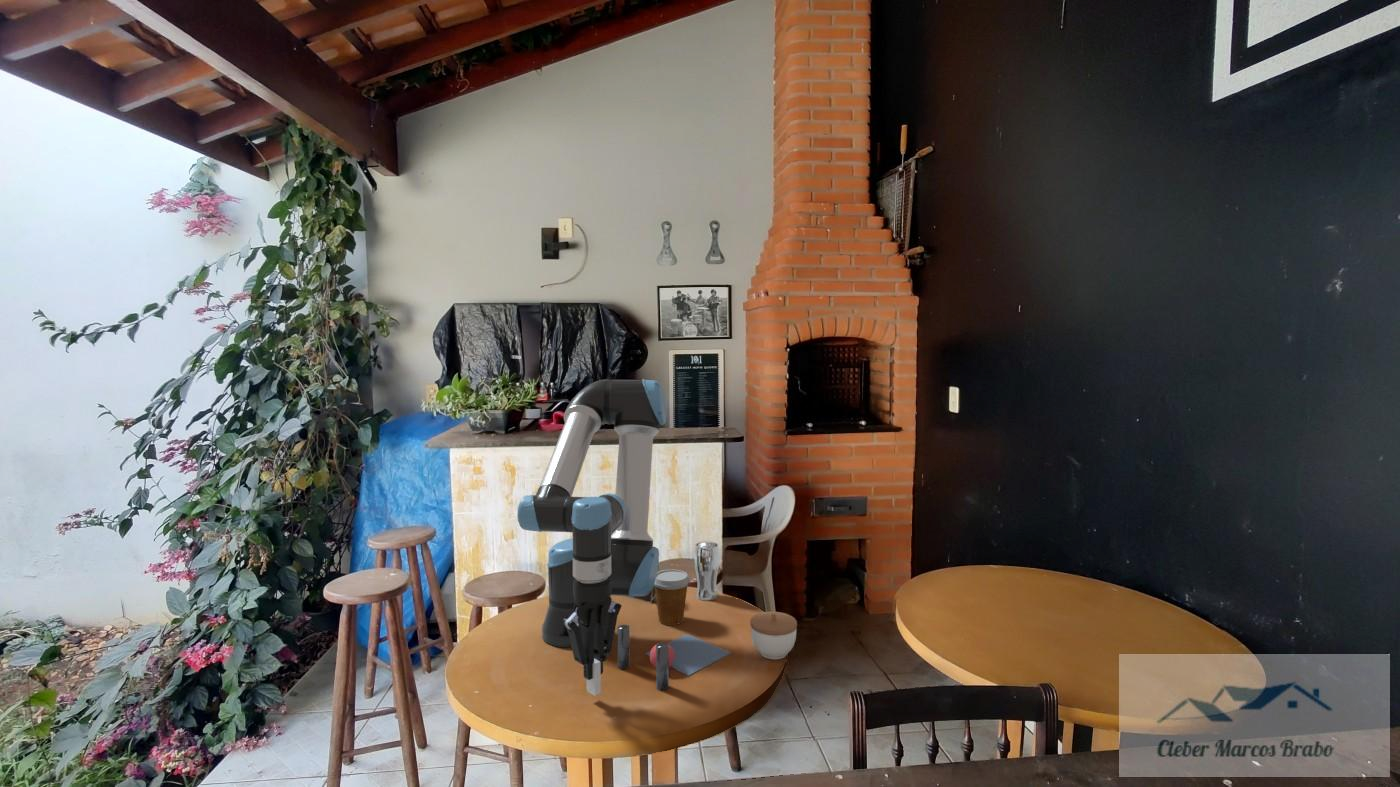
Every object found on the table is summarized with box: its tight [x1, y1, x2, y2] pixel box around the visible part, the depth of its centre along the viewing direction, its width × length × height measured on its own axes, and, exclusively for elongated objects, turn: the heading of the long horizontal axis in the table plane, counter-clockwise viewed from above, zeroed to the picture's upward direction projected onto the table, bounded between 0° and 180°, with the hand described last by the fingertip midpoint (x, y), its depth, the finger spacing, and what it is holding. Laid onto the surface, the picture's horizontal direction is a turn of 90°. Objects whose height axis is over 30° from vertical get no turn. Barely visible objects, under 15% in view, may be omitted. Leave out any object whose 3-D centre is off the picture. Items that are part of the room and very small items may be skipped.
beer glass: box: [694, 540, 720, 601], centre depth 180 cm, size 7×7×15 cm
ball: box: [649, 642, 675, 669], centre depth 140 cm, size 6×6×6 cm
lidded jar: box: [749, 611, 798, 660], centre depth 147 cm, size 11×11×9 cm
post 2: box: [655, 642, 670, 692], centre depth 132 cm, size 3×3×9 cm
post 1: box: [617, 624, 630, 671], centre depth 140 cm, size 3×3×9 cm
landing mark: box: [645, 633, 732, 677], centre depth 147 cm, size 14×14×1 cm
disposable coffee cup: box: [654, 568, 690, 626], centre depth 164 cm, size 10×10×12 cm
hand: (593, 691), depth 127 cm, fingers closed
